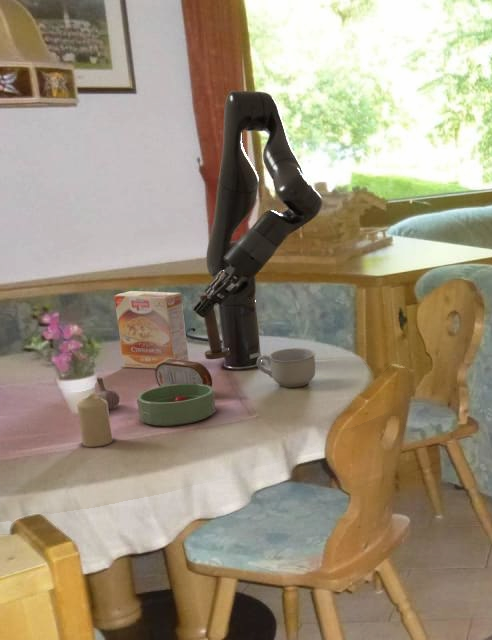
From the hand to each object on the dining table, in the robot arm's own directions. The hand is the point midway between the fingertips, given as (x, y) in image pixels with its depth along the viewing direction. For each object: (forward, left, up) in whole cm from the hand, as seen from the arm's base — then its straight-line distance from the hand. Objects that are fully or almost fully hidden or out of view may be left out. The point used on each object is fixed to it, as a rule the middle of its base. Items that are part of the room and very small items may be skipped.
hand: (198, 313), depth 222 cm
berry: (-10, -2, -22) cm, 24 cm away
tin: (-22, +4, -24) cm, 33 cm away
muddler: (+1, +3, -10) cm, 10 cm away
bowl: (-6, -4, -24) cm, 25 cm away
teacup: (-13, +26, -24) cm, 38 cm away
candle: (0, -23, -24) cm, 34 cm away
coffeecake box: (-55, +10, -24) cm, 61 cm away
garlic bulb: (-23, -14, -24) cm, 37 cm away
